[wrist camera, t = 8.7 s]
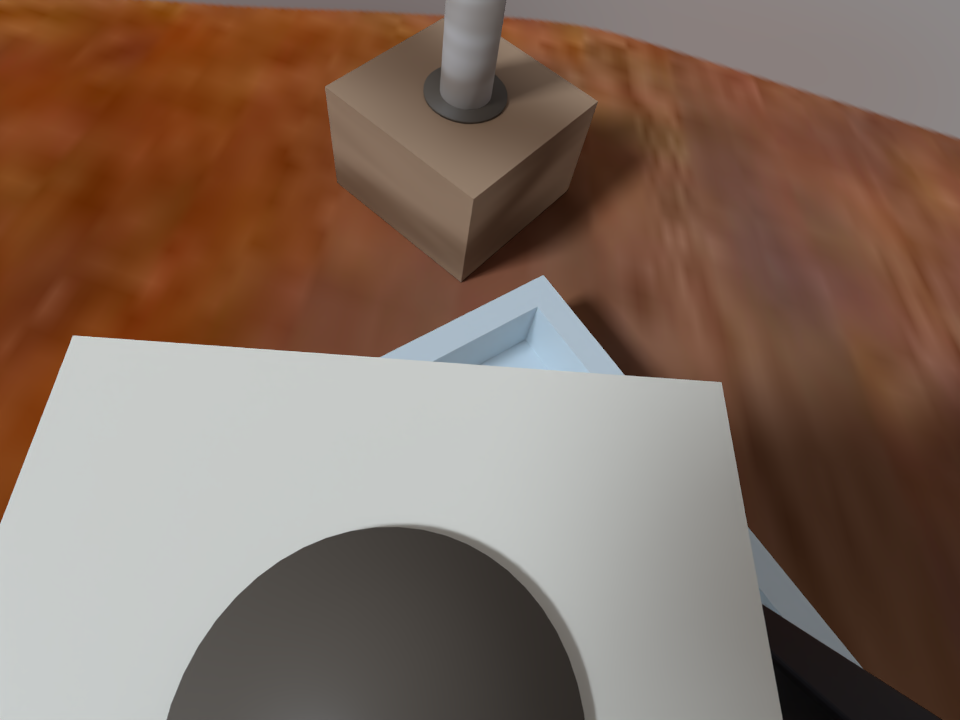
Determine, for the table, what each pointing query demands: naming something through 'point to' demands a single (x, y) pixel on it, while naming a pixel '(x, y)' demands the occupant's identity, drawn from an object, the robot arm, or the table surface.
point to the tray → (571, 347)
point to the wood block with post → (457, 136)
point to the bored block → (376, 544)
